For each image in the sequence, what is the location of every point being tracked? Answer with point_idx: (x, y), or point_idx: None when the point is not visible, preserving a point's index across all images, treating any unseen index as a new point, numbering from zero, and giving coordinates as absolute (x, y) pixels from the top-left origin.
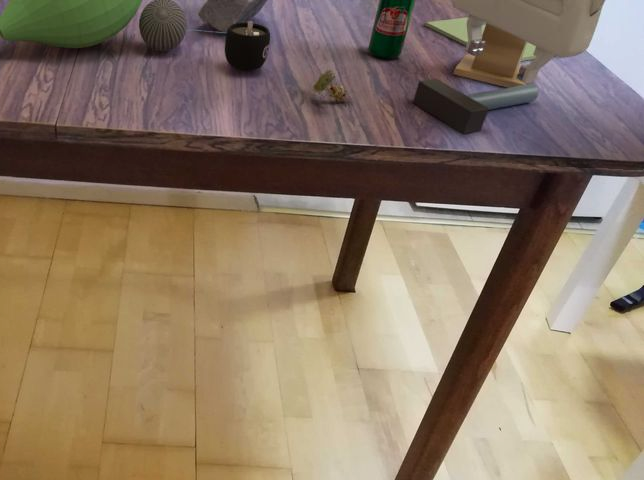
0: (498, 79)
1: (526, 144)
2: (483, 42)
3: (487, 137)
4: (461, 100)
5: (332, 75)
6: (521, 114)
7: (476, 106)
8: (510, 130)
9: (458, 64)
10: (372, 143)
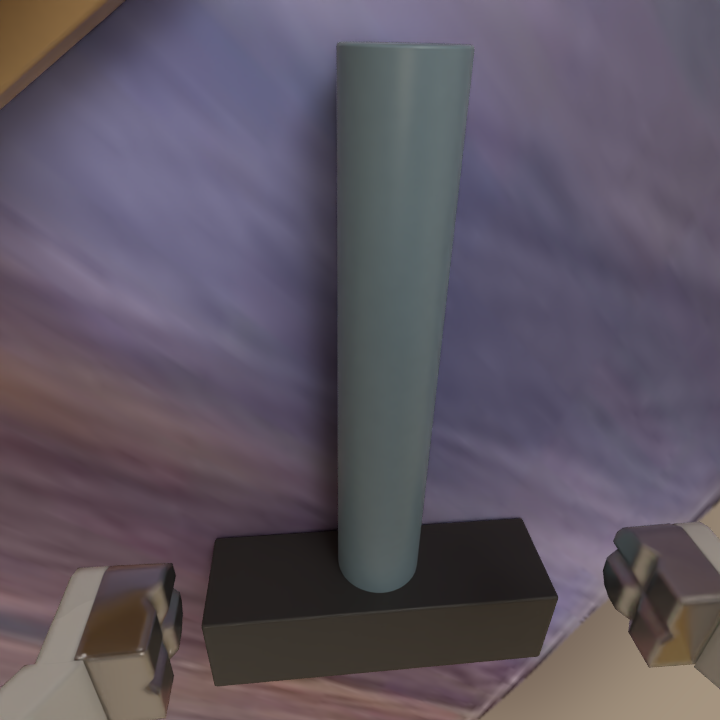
0: (60, 46)
1: (690, 439)
2: (152, 664)
3: (567, 523)
4: (447, 644)
5: None
6: (506, 248)
7: (520, 627)
8: (583, 418)
9: None
10: None
